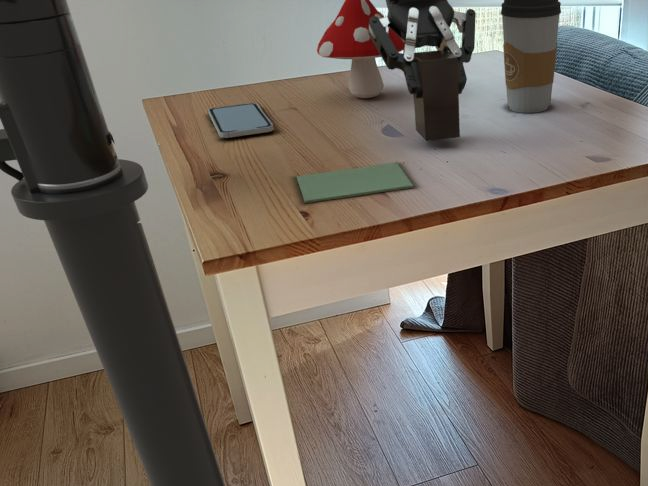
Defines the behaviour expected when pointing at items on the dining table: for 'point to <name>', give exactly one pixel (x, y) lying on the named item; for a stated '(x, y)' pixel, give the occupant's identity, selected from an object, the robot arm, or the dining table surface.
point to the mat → (352, 182)
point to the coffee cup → (530, 52)
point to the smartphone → (240, 120)
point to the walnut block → (437, 96)
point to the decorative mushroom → (357, 46)
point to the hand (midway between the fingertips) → (439, 92)
